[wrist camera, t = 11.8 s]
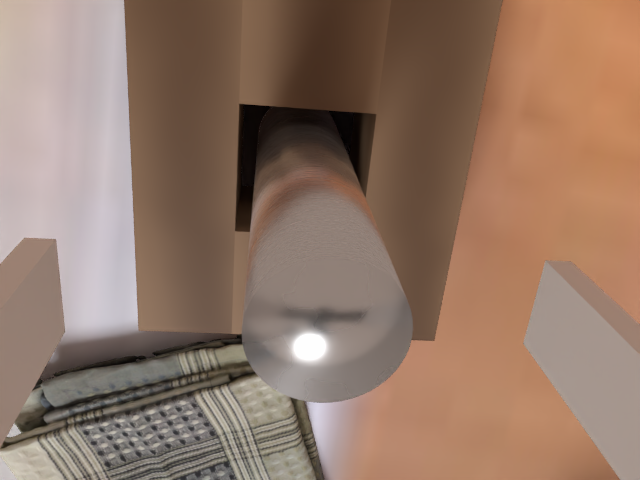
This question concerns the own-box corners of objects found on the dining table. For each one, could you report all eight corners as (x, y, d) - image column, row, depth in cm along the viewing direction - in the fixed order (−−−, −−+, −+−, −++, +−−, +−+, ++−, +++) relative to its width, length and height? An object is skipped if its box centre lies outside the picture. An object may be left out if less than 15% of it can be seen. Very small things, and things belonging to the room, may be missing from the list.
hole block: (160, 270, 33) (138, 330, 27) (153, -51, 26) (121, -56, 21) (408, 281, 34) (434, 340, 29) (460, -20, 28) (506, -18, 22)
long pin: (256, 171, 31) (239, 400, 14) (260, 94, 29) (244, 252, 13) (332, 176, 31) (399, 404, 15) (340, 100, 29) (425, 262, 13)
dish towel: (342, 521, 43) (347, 562, 40) (103, 573, 43) (91, 616, 40) (280, 307, 35) (280, 338, 32) (-11, 373, 35) (-36, 409, 32)
